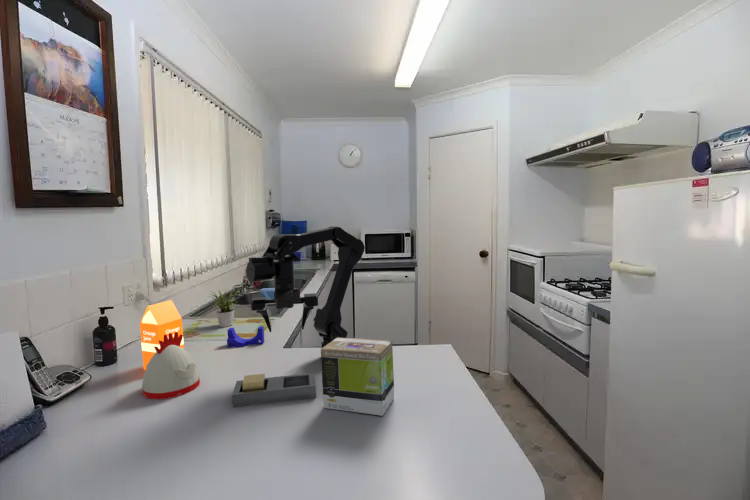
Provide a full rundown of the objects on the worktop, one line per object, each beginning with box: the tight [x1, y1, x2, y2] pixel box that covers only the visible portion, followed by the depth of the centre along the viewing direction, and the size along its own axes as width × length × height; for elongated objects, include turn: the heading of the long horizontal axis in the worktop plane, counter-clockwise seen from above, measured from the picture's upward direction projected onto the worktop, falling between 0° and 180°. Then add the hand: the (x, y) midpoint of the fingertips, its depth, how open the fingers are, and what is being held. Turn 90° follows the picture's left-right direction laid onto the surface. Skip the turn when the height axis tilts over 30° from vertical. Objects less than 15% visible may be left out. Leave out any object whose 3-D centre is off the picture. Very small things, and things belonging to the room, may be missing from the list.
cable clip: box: [226, 325, 265, 348], centre depth 145 cm, size 12×4×6 cm, turn 94°
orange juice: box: [139, 299, 185, 371], centre depth 125 cm, size 8×9×20 cm
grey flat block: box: [231, 372, 317, 408], centre depth 103 cm, size 20×8×3 cm, turn 101°
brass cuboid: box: [242, 373, 266, 392], centre depth 102 cm, size 5×5×5 cm
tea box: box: [320, 337, 395, 417], centre depth 97 cm, size 15×10×15 cm, turn 71°
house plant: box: [207, 289, 240, 328], centre depth 170 cm, size 14×14×16 cm
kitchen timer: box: [141, 332, 201, 400], centre depth 109 cm, size 14×14×15 cm
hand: (286, 330), depth 119 cm, fingers open, 9 cm apart
